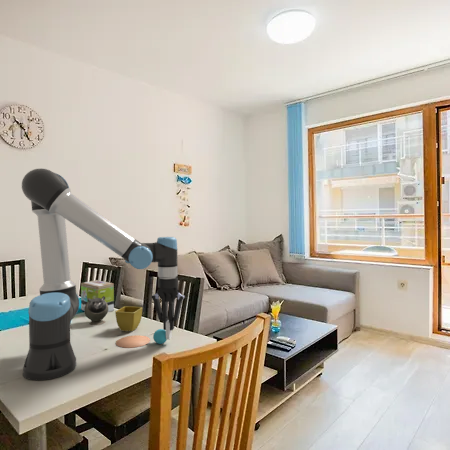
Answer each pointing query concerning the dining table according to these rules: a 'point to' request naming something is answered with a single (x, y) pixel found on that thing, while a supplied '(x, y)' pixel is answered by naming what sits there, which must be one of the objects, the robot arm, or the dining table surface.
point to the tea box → (97, 292)
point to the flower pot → (128, 318)
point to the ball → (160, 336)
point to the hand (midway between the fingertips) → (168, 338)
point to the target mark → (132, 341)
